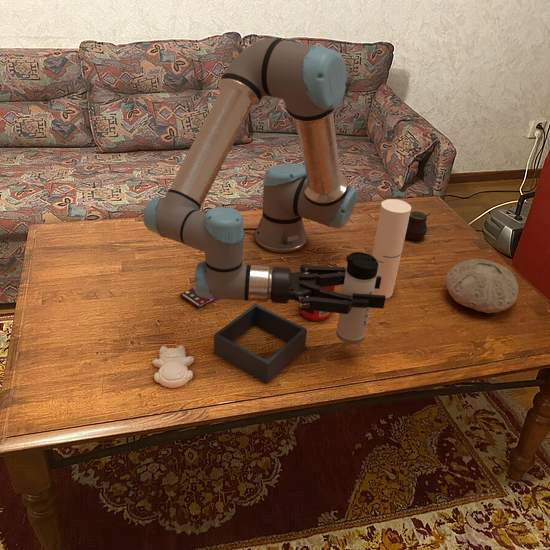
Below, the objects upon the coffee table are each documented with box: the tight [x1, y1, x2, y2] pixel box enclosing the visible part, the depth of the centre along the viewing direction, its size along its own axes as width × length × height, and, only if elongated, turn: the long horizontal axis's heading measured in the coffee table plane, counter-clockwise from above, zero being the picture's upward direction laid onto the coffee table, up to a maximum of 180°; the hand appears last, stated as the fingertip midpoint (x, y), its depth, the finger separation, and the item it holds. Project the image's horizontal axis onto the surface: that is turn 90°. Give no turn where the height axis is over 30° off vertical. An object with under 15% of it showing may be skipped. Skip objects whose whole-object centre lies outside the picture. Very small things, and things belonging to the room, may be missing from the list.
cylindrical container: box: [371, 198, 412, 299], centre depth 140 cm, size 7×7×25 cm
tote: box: [213, 303, 308, 384], centre depth 123 cm, size 15×15×6 cm
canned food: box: [299, 285, 336, 322], centre depth 134 cm, size 8×8×11 cm
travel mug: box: [336, 251, 379, 345], centre depth 116 cm, size 6×7×20 cm
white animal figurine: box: [152, 344, 195, 389], centre depth 118 cm, size 9×12×3 cm
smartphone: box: [179, 286, 215, 308], centre depth 142 cm, size 7×15×1 cm, turn 137°
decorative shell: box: [445, 257, 520, 314], centre depth 143 cm, size 18×18×10 cm
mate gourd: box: [405, 210, 432, 242], centre depth 169 cm, size 7×8×10 cm
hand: (382, 292), depth 115 cm, fingers closed on travel mug, 6 cm apart
